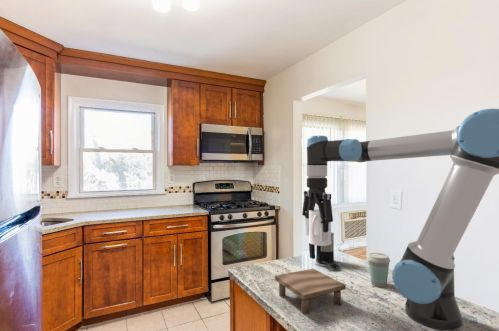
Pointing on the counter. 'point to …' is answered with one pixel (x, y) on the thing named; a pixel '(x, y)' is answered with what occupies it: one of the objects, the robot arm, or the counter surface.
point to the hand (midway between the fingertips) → (316, 237)
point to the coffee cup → (378, 269)
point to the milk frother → (324, 253)
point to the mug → (317, 229)
